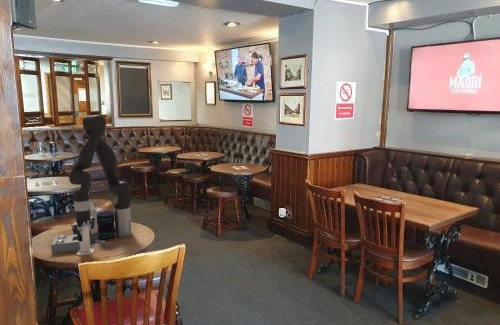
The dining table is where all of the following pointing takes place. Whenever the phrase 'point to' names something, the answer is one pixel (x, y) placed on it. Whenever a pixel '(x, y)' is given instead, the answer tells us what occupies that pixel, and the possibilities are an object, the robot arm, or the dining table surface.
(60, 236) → the plunger
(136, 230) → the dining table surface
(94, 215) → the milk carton
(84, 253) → the coaster
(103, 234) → the storage jar
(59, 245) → the housing
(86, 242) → the tumbler with domed lid
